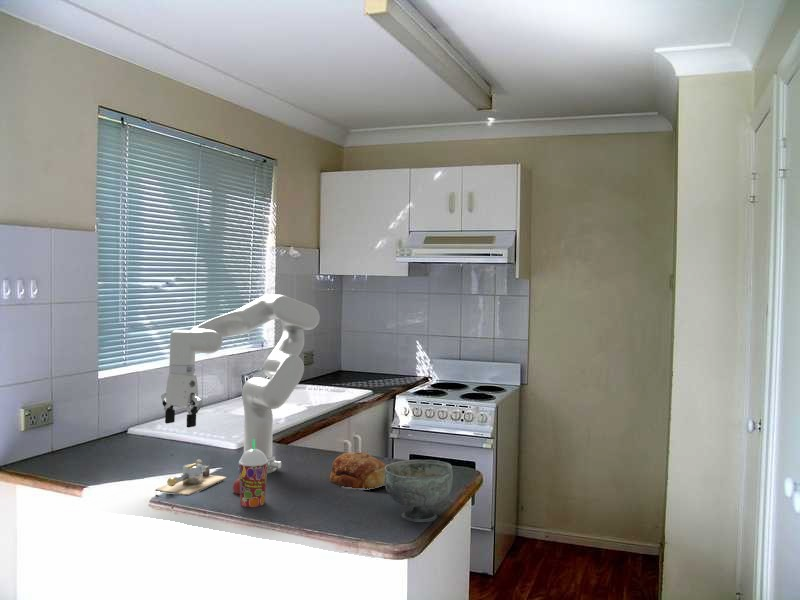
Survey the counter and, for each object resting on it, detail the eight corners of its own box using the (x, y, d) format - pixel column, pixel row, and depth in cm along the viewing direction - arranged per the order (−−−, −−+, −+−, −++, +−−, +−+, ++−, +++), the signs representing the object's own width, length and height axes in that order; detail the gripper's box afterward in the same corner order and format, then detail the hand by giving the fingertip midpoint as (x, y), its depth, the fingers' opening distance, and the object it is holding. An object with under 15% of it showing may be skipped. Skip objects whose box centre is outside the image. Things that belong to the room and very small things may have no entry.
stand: (227, 483, 222) (227, 461, 221) (188, 500, 203) (188, 477, 203) (196, 478, 226) (196, 457, 226) (155, 495, 207) (155, 473, 207)
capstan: (196, 476, 221) (197, 458, 221) (212, 478, 219) (212, 460, 219) (160, 490, 205) (160, 472, 204) (177, 493, 203) (177, 474, 202)
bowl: (394, 505, 203) (395, 455, 203) (458, 512, 197) (459, 460, 197) (373, 527, 184) (374, 471, 184) (442, 535, 179) (443, 478, 178)
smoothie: (240, 514, 192) (241, 443, 192) (235, 505, 200) (236, 437, 199) (270, 510, 195) (271, 441, 195) (263, 502, 203) (265, 435, 203)
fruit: (243, 501, 203) (244, 475, 203) (230, 498, 206) (230, 472, 206) (258, 496, 208) (259, 470, 208) (245, 493, 211) (245, 467, 211)
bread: (361, 473, 237) (362, 445, 237) (404, 483, 226) (404, 453, 226) (321, 486, 220) (322, 456, 220) (365, 498, 210) (366, 465, 210)
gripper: (210, 371, 210) (209, 426, 210) (172, 366, 219) (171, 419, 219) (191, 373, 204) (190, 430, 204) (153, 368, 213) (152, 423, 213)
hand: (180, 424), depth 212 cm, fingers open, 9 cm apart
